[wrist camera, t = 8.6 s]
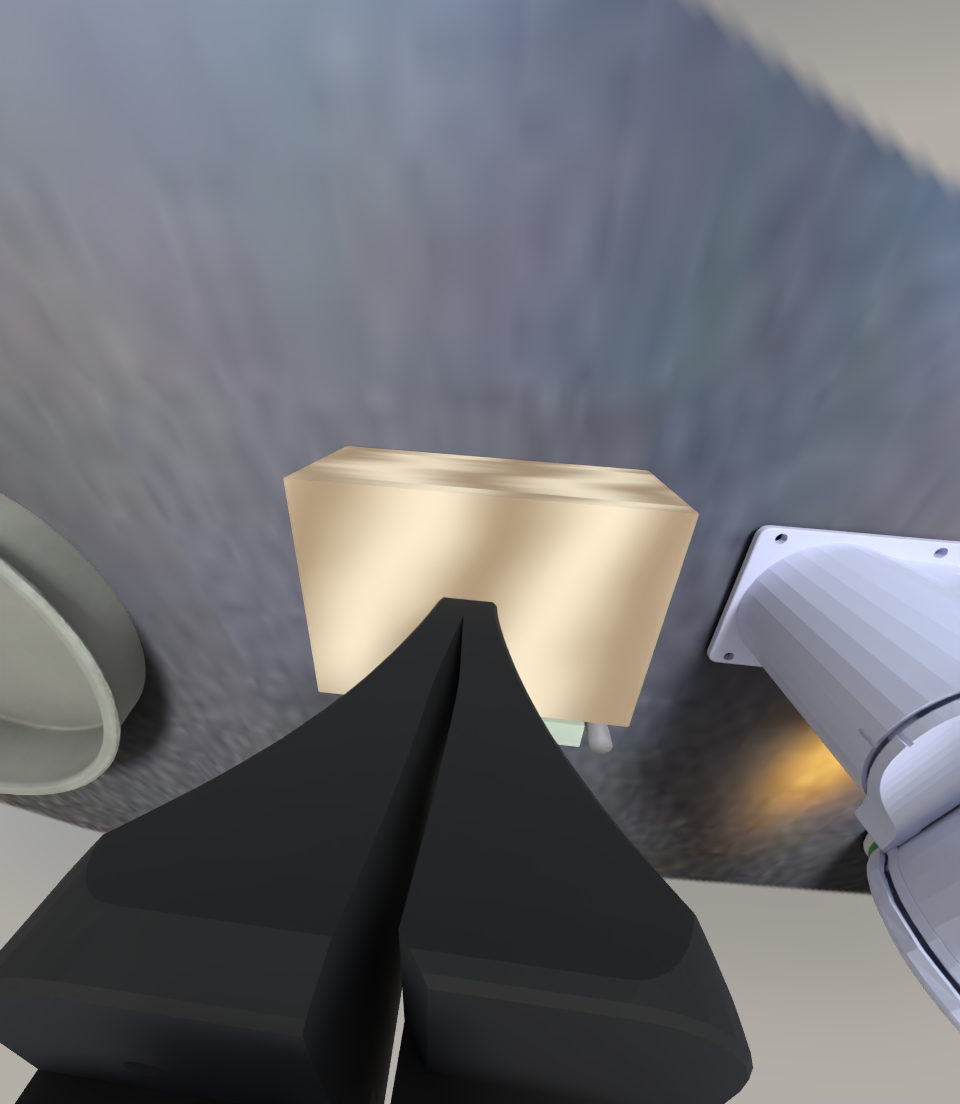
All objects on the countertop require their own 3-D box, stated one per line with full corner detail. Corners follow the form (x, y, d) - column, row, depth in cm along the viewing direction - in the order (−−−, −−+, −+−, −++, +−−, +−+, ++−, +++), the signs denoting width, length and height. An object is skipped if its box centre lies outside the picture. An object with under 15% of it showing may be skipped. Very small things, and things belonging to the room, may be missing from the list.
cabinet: (647, 470, 18) (699, 514, 13) (603, 644, 22) (628, 726, 17) (346, 446, 18) (283, 477, 13) (362, 619, 23) (318, 691, 18)
